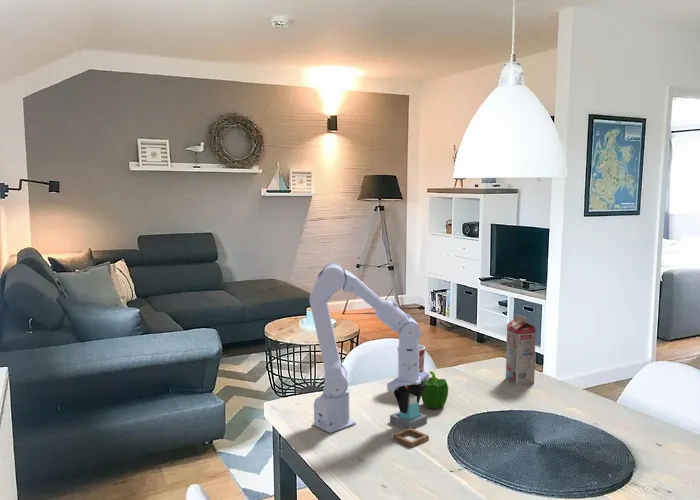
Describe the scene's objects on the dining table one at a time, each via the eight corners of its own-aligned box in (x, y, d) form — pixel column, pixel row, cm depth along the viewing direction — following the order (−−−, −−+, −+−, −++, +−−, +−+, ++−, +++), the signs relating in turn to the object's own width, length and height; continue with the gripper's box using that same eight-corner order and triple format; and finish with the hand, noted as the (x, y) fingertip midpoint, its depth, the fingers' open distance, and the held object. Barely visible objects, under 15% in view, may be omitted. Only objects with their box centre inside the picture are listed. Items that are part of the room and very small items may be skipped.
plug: (409, 421, 160) (409, 399, 160) (400, 417, 163) (400, 395, 162) (418, 417, 163) (418, 396, 162) (409, 413, 165) (409, 392, 165)
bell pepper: (448, 412, 171) (448, 378, 169) (419, 410, 172) (419, 377, 171) (448, 401, 179) (448, 369, 178) (420, 400, 180) (421, 368, 179)
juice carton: (516, 384, 193) (517, 318, 190) (505, 378, 199) (507, 314, 197) (534, 383, 194) (535, 317, 192) (523, 376, 201) (525, 313, 198)
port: (408, 430, 158) (408, 421, 158) (390, 422, 164) (390, 414, 164) (427, 422, 163) (427, 414, 163) (408, 415, 168) (408, 407, 168)
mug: (396, 383, 195) (396, 343, 194) (423, 382, 195) (423, 343, 194) (398, 396, 183) (398, 354, 181) (428, 396, 183) (428, 354, 181)
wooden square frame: (410, 447, 148) (410, 443, 148) (392, 439, 153) (392, 434, 153) (428, 440, 152) (428, 435, 152) (410, 432, 157) (410, 427, 157)
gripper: (400, 371, 154) (400, 421, 155) (437, 360, 163) (437, 407, 165) (381, 365, 159) (381, 413, 161) (418, 354, 168) (418, 400, 170)
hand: (408, 410), depth 163 cm, fingers closed on plug, 4 cm apart
